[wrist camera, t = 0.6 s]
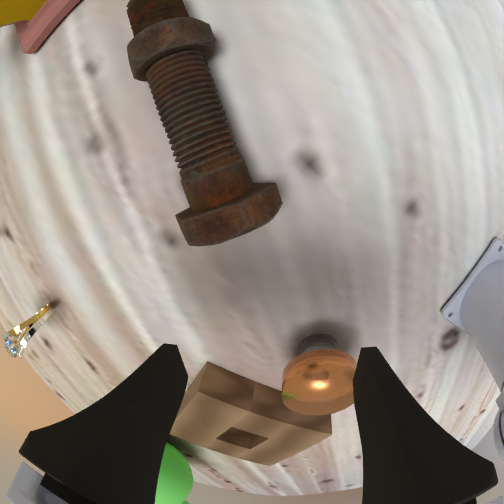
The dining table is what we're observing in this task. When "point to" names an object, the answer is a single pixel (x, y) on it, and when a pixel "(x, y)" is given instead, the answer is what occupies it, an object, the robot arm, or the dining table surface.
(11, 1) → the yellow mantel clock
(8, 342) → the ring
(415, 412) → the robot arm
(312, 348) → the orange short cylinder
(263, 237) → the dining table surface
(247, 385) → the block
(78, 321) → the dining table surface
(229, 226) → the bolt
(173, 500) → the toy bird
